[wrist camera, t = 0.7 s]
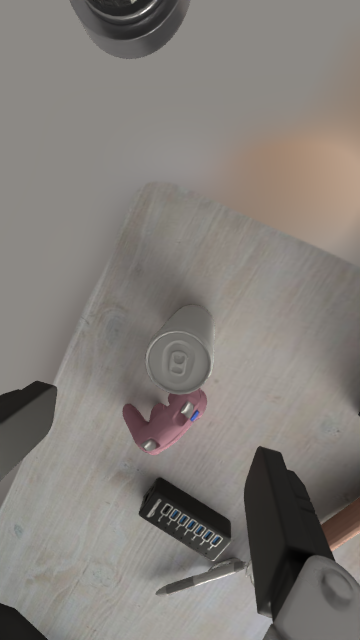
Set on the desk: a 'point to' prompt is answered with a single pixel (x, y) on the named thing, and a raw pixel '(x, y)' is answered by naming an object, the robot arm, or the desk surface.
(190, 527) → the multiport hub
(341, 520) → the pizza cutter
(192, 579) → the pen
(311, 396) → the desk surface
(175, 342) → the beverage can
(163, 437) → the video game controller
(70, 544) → the desk surface
